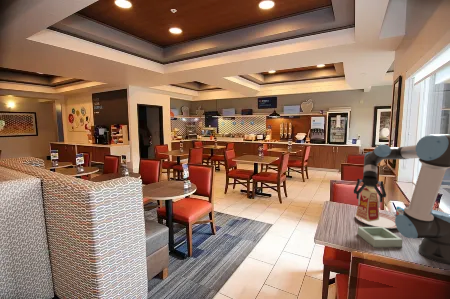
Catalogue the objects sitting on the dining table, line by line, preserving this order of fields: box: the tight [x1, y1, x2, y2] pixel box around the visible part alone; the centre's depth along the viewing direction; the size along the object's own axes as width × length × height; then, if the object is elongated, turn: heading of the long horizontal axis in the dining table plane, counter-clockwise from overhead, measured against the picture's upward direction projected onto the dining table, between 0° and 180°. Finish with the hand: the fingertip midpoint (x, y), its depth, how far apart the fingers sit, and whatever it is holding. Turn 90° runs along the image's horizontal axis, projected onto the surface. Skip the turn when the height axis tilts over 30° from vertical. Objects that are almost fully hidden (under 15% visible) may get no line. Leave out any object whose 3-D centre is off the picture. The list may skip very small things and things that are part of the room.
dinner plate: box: [354, 211, 397, 230], centre depth 158 cm, size 27×27×3 cm
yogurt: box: [395, 206, 404, 216], centre depth 166 cm, size 12×2×6 cm, turn 177°
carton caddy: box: [357, 226, 404, 249], centre depth 134 cm, size 16×16×5 cm
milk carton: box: [355, 186, 380, 222], centre depth 136 cm, size 9×9×20 cm
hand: (368, 205), depth 133 cm, fingers closed on milk carton, 9 cm apart
